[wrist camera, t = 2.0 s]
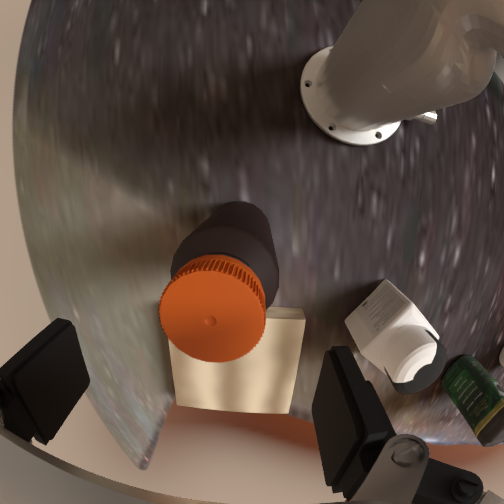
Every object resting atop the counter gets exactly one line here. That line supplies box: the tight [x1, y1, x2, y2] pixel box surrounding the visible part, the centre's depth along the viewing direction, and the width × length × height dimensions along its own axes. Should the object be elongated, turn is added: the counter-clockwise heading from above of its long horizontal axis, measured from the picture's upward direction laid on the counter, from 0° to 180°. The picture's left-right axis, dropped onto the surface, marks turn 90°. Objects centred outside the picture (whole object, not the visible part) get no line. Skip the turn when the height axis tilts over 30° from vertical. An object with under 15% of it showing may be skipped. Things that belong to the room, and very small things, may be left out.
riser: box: [168, 307, 306, 413], centre depth 34 cm, size 16×16×3 cm
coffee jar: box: [441, 355, 504, 447], centre depth 28 cm, size 10×8×19 cm
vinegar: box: [158, 202, 279, 363], centre depth 22 cm, size 7×7×20 cm
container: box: [344, 280, 447, 394], centre depth 28 cm, size 8×8×13 cm
